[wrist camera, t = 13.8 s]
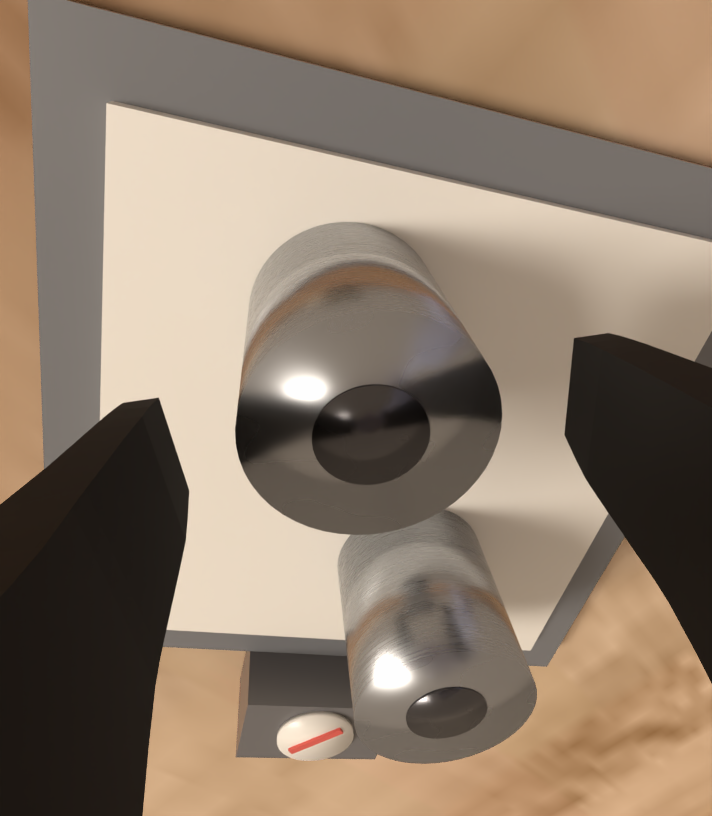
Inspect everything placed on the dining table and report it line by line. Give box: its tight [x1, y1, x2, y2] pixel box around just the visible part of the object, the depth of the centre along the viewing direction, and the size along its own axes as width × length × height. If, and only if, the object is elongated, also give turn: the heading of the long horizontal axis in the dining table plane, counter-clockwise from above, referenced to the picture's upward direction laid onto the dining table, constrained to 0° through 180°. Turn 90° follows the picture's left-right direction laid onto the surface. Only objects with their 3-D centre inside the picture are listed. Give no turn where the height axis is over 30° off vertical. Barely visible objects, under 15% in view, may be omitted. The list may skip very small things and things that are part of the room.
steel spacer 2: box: [337, 510, 537, 764], centre depth 17 cm, size 4×4×5 cm
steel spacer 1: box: [235, 222, 502, 535], centre depth 12 cm, size 4×4×5 cm
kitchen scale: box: [28, 0, 712, 761], centre depth 17 cm, size 18×21×3 cm
